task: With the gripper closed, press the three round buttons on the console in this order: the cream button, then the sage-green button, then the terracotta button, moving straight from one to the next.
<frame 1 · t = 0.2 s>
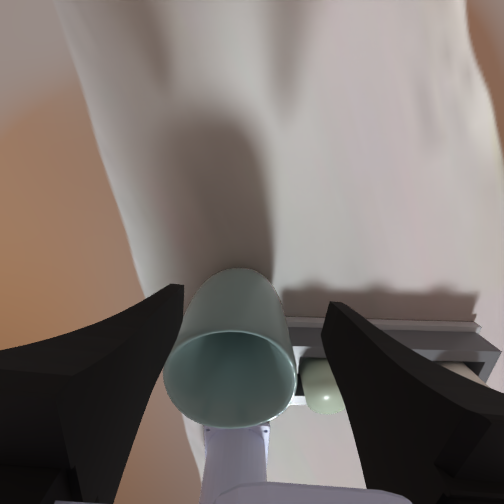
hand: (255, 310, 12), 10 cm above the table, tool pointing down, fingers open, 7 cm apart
sage button: (324, 382, 21), point 4 cm above the table, slide at 0.0 cm
cup: (239, 292, 23), on the table
cream button: (454, 385, 22), point 4 cm above the table, slide at 0.0 cm
console: (369, 352, 25), on the table
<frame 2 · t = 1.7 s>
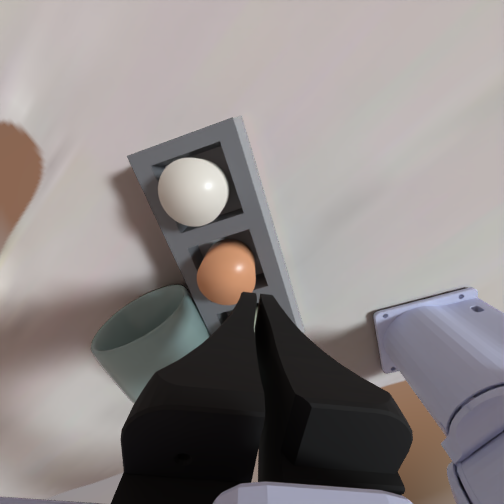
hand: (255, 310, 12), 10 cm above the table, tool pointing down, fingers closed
sage button: (252, 333, 19), point 4 cm above the table, slide at 0.0 cm
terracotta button: (228, 270, 17), point 4 cm above the table, slide at 0.0 cm
cup: (198, 397, 22), point 4 cm above the table, touching console
cream button: (197, 191, 15), point 4 cm above the table, slide at 0.0 cm
console: (232, 252, 21), on the table
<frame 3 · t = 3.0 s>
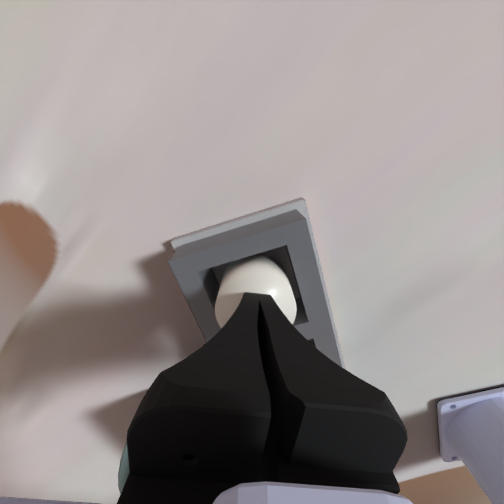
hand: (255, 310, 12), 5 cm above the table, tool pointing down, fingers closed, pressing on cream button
cream button: (255, 295, 13), point 3 cm above the table, slide at 0.7 cm, touching gripper
console: (278, 339, 18), on the table
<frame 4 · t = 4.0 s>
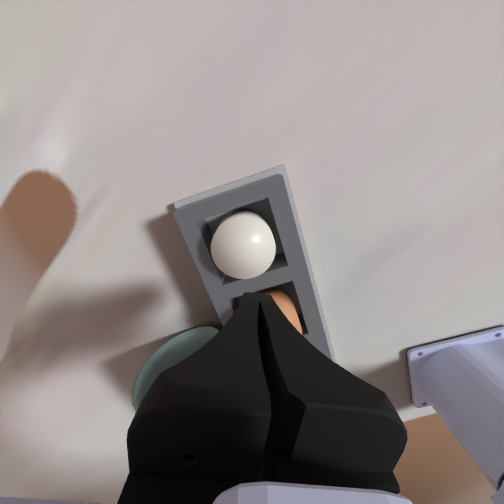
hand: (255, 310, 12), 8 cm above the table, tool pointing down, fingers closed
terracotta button: (270, 321, 17), point 4 cm above the table, slide at 0.0 cm
cup: (231, 438, 22), point 4 cm above the table, touching console
cream button: (243, 242, 16), point 3 cm above the table, slide at 0.9 cm
console: (266, 293, 21), on the table
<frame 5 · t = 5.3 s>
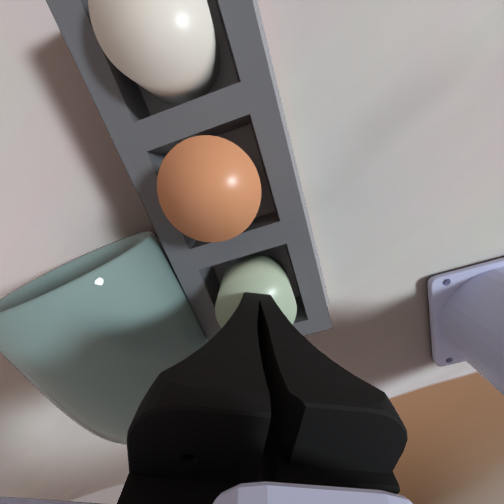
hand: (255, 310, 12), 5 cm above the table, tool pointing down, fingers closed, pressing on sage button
sage button: (255, 295, 13), point 3 cm above the table, slide at 0.5 cm, touching gripper
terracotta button: (215, 189, 10), point 4 cm above the table, slide at 0.0 cm
cup: (175, 399, 15), point 4 cm above the table, touching console
cream button: (164, 38, 9), point 3 cm above the table, slide at 0.9 cm
console: (224, 182, 14), on the table
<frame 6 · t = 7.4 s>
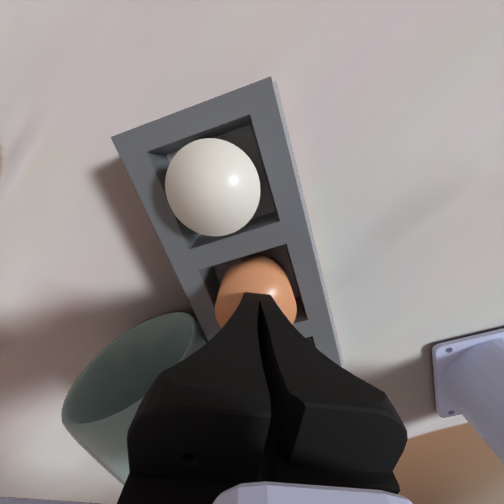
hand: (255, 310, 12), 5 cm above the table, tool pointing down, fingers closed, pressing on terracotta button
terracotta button: (255, 295, 13), point 3 cm above the table, slide at 0.5 cm, touching gripper
cup: (209, 455, 17), point 4 cm above the table, touching console
cream button: (217, 187, 11), point 3 cm above the table, slide at 0.9 cm
console: (254, 270, 16), on the table
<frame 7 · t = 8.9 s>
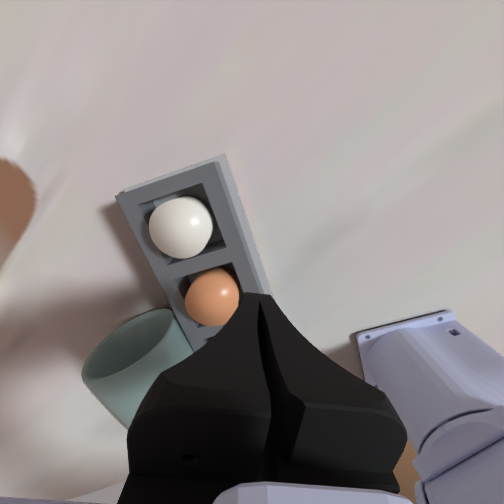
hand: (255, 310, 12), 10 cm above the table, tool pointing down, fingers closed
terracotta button: (214, 294, 19), point 3 cm above the table, slide at 0.9 cm
cup: (186, 415, 23), point 4 cm above the table, touching console
cream button: (185, 225, 17), point 3 cm above the table, slide at 0.9 cm
console: (219, 277, 22), on the table
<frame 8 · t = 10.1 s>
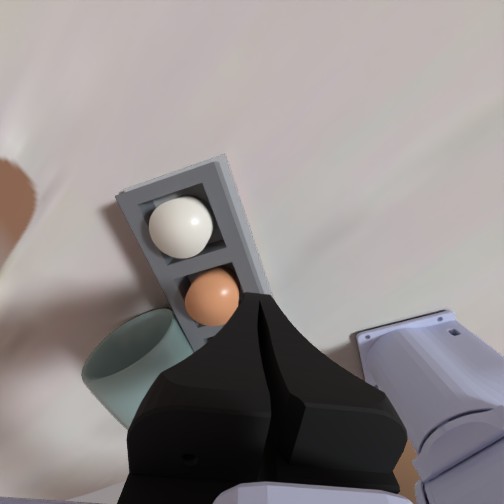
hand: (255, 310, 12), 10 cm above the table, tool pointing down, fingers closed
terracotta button: (214, 294, 19), point 3 cm above the table, slide at 0.9 cm
cup: (186, 415, 23), point 4 cm above the table, touching console
cream button: (185, 225, 17), point 3 cm above the table, slide at 0.9 cm
console: (219, 277, 22), on the table
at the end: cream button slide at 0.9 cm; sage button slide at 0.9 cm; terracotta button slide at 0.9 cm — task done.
